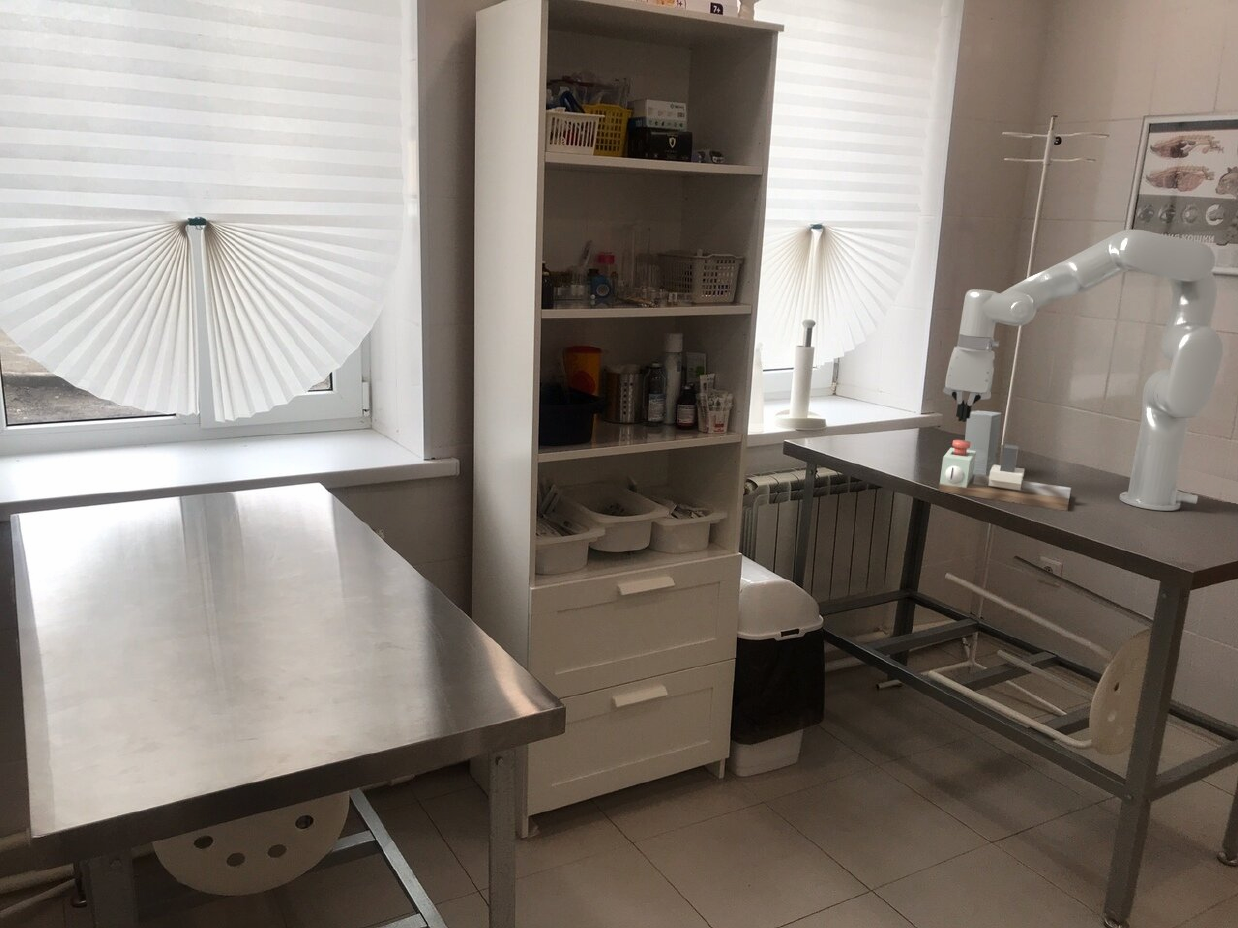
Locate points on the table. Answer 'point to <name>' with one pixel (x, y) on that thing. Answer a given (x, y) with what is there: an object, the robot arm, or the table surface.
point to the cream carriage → (1007, 470)
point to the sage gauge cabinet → (957, 468)
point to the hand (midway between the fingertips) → (962, 420)
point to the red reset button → (960, 447)
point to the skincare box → (983, 439)
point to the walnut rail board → (1015, 493)
